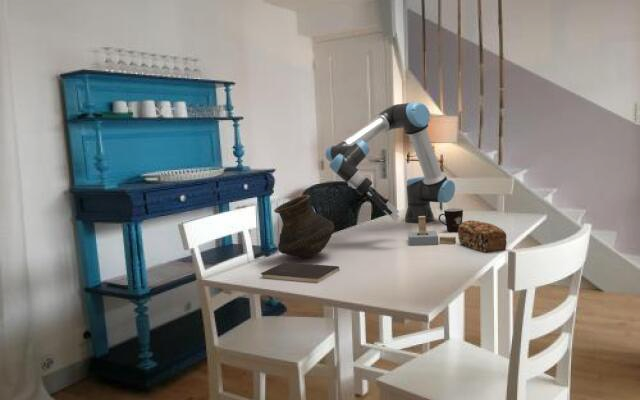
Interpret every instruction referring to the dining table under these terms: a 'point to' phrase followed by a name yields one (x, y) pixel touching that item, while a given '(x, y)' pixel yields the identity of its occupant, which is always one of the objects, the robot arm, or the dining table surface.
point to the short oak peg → (447, 240)
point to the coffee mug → (452, 219)
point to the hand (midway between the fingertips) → (397, 216)
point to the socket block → (423, 238)
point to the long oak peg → (422, 225)
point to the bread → (482, 236)
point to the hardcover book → (300, 272)
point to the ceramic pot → (302, 229)
